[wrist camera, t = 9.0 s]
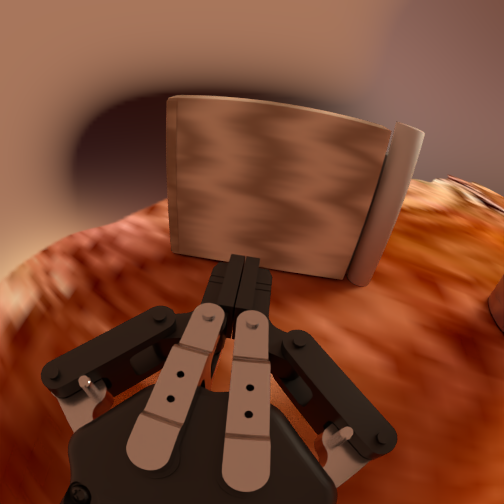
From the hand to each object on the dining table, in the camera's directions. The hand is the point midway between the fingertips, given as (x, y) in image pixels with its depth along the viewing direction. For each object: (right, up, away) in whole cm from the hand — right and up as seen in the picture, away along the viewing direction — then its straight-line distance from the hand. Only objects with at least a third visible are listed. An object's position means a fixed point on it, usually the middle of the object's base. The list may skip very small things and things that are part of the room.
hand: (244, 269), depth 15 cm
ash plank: (+1, 0, +12) cm, 12 cm away
